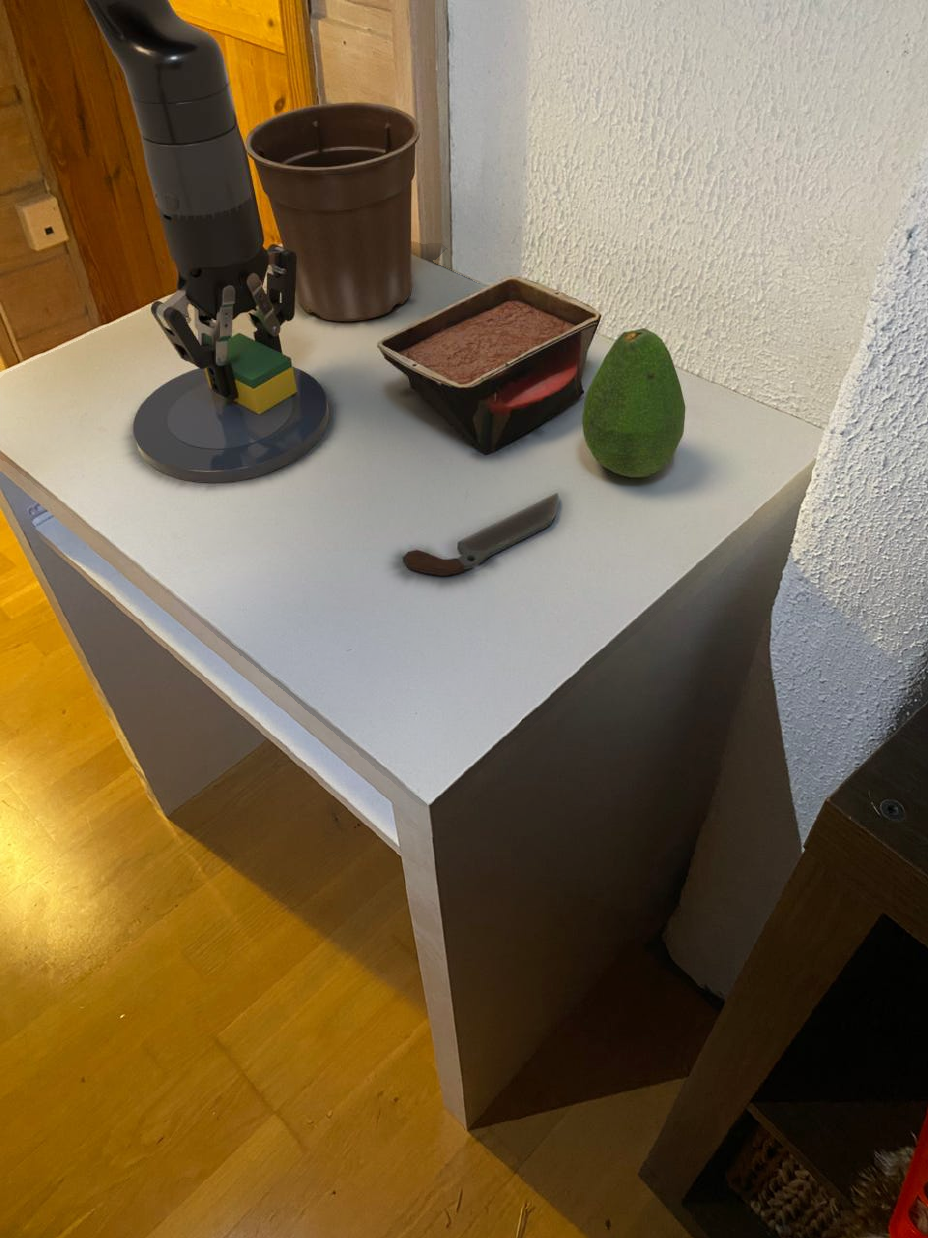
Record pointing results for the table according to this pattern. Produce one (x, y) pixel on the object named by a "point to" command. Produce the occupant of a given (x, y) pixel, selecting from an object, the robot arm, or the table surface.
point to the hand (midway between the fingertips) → (250, 382)
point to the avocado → (634, 406)
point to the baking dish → (498, 359)
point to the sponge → (259, 374)
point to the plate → (226, 430)
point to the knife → (488, 540)
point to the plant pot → (342, 202)
